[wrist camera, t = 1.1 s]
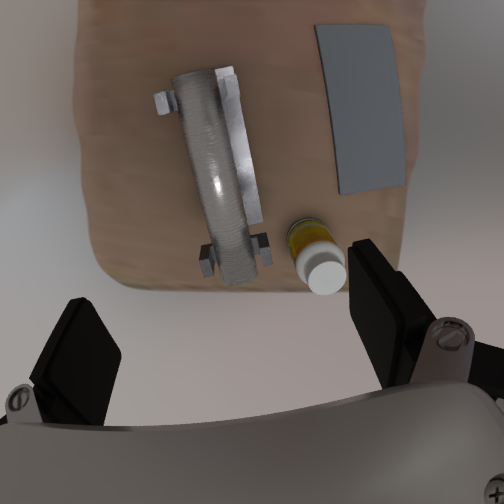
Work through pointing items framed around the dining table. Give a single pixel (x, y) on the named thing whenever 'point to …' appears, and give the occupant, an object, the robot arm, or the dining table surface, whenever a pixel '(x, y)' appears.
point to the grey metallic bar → (215, 173)
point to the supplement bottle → (316, 256)
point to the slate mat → (363, 105)
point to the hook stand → (241, 159)
